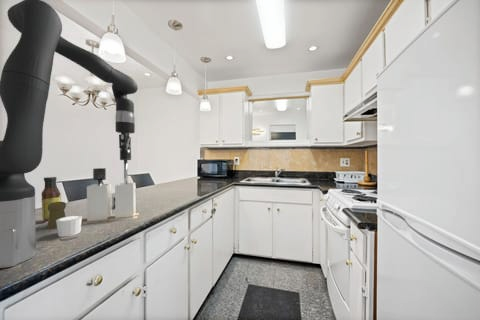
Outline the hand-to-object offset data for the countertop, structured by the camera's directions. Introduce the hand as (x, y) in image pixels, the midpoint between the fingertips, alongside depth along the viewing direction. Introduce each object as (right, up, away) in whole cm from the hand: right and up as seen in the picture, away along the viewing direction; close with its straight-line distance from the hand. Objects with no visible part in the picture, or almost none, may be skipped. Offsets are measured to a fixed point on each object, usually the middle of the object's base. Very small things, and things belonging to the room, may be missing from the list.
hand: (125, 158), depth 86 cm
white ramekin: (-8, -29, -19) cm, 36 cm away
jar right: (0, -27, 0) cm, 27 cm away
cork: (-20, -29, -12) cm, 37 cm away
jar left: (-9, -27, -3) cm, 28 cm away
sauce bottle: (-33, -28, -1) cm, 43 cm away
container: (-13, -28, +19) cm, 36 cm away
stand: (-5, -28, -2) cm, 29 cm away
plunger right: (0, -16, 0) cm, 16 cm away
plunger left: (-9, -25, -4) cm, 27 cm away
